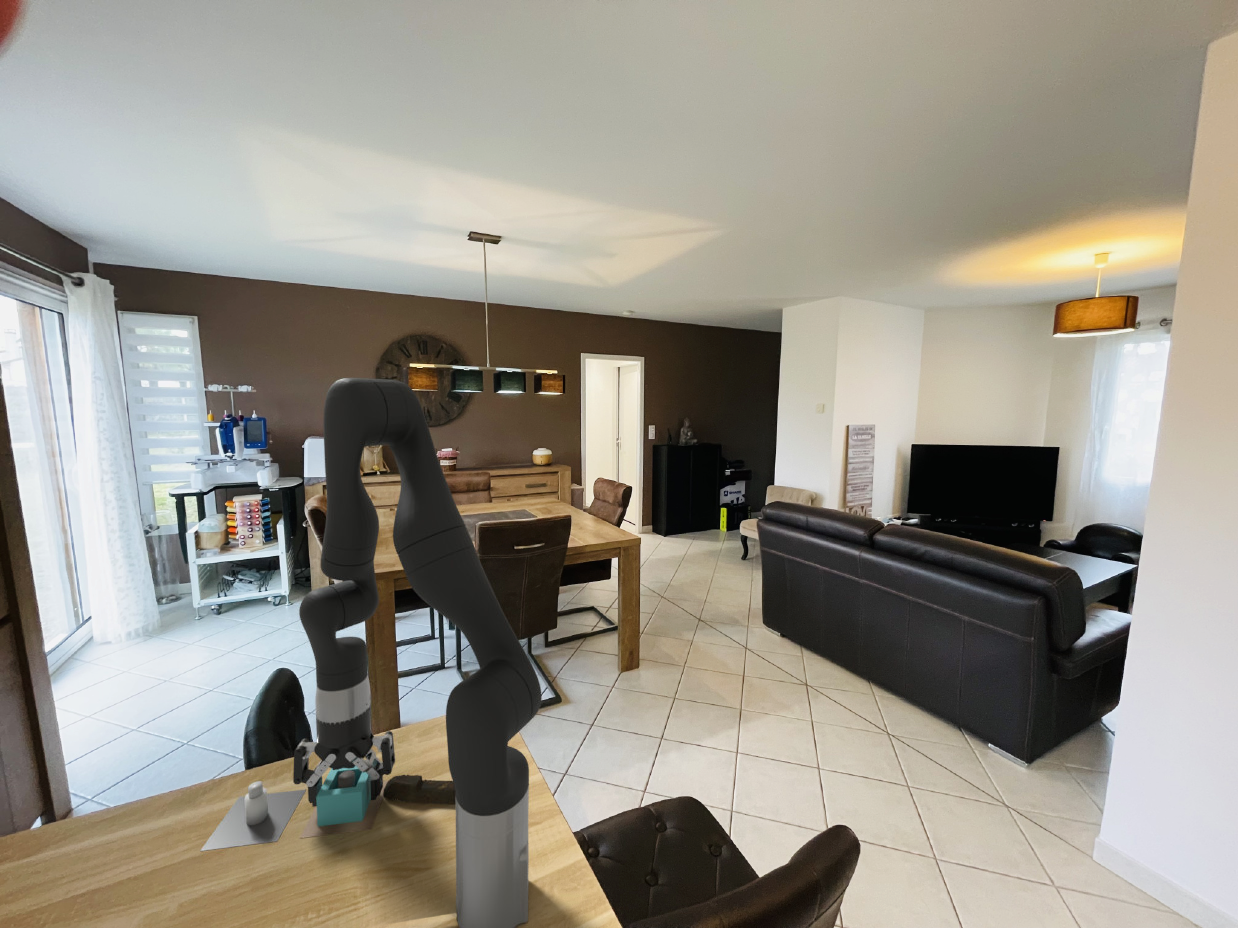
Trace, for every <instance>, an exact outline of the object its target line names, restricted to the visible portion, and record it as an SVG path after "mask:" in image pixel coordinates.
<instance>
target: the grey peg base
mask: <svg viewBox="0 0 1238 928" xmlns="http://www.w3.org/2000/svg"><path fill="white" fill-rule="evenodd" d="M247 789H248V793H246V794H245V796H244V795H243V796H239V797H238V798H237V799H236V801H235V802H234V803H233V805H232V806H231V807H230V809H229V810H228V812H227V813H226V815H225V816H224V817H223V819H222V820H221V822H220V823H219V824H218V826H217V827H216V828H215V830H214V831H213V832H212V834H211V835H210V836H209V838H208V839H207V841H206V842H205V843H204V845H203V846H202V848H201V849H200V850H199V851H200V852H204V851H206V852H207V851H212V850H220V849H229V848H237V847H244V846H252V845H259V844H265V843H266V844H268V843H275V842H276V843H277V842H278V840H279V839H280V837H281V835H282V834H283V832H284V830H285V828H286V826H287V825H288V823H289V821H290V820H291V818H292V816H293V814H294V813H295V811H296V809H297V807H298V805H299V804H300V801H302V798H303V796H305V793H306V791H307V789H297V790H289V791H281V792H280V791H279V792H271V793H268V789H267V788H266V787H264V785H263V781H260V780H259V781H258V780H257V781H255V782H252V783H251V784H250V785H248V788H247Z"/></svg>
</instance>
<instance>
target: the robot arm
mask: <svg viewBox="0 0 1238 928" xmlns="http://www.w3.org/2000/svg"><path fill="white" fill-rule="evenodd" d="M421 404H422V403H421V401H420V400H419V397H418V396H417V394H416V393H415V391H414V390H413V389H412V387H410V386H409V385H408V384H407V383H405V382H403V381H400V380H397V379H396V380H395V379H386V378H385V379H380V378H366V377H365V378H363V377H361V378H360V377H345V378H341V379H338V380H336V381H334V382H333V384H331V386H330V387H329V389H328V391H327V393H326V396H325V400H324V407H323V416H322V417H323V418H322V419H323V424H322V425H323V447H324V448H323V450H324V454H323V455H324V473H325V487H326V488H325V489H326V515H325V516H326V518H325V526H324V527H325V528H324V533H323V541H322V548H321V555H320V570H321V572H322V574H323V575H324V576H326V577H328V578H329V579H332V580H335V581H340V582H337V583H334V584H333V583H332V584H330V585H326V586H323V587H319V588H315V589H313V590H311V591H309V592H308V593H306V595H305V596H304V597H303V598H302V601H301V603H300V605H299V610H298V611H299V612H298V614H299V620H300V623H301V625H302V627H303V629H304V632H305V634H306V636H307V640H308V641H309V644H310V647H311V651H312V653H313V657H314V660H315V677H316V678H315V679H316V690H315V698H314V699H315V700H314V701H315V724H316V741H310V740H309V739H308V738H302V739H301V741H300V742H299V744H298V745H297V747H296V748H295V750H294V751H293V773H292V774H293V778H292V779H293V780H292V781H293V782H292V783H293V784H294V785H301V784H305V785H306V786H307V797H308V798H307V799H308V802H309V804H311V806H312V808H313V807H314V808H315V807H316V806H317V801H316V797H317V795H318V793H319V791H320V789H321V787H322V785H323V775H324V774H325V773H326V771H328V769H331V768H333V770H339V769H342V768H354V767H355V766H356V767H357V768H358V769H360V770H361V771H362V772H363V773H364V772H366V773H367V774H368V775H369V776H370V777H371V780H370V789H371V800H376V798H377V796H379V795H380V793H381V790H382V788H383V781H384V776H388V775H391V774H392V771H393V768H394V765H395V763H396V753H395V744H394V733H393V731H391V730H387V731H385V733H384V735H377V736H375V735H374V734H373V732H372V720H371V719H372V712H371V711H372V710H371V709H372V706H371V705H372V703H371V700H372V693H371V684H370V679H369V669H368V665H369V664H368V663H369V662H368V645H367V643H366V641H365V640H364V639H363V638H360V637H358V636H342V637H337V632H339V631H342V630H346V629H348V628H350V627H354V626H356V625H359V624H361V623H364V622H366V621H369V620H370V619H371V618H372V617H373V615H375V613H376V611H377V610H378V607H379V603H380V598H379V597H380V596H379V590H378V586H377V581H376V579H377V578H376V571H375V556H376V550H377V544H378V538H379V532H380V519H379V516H378V512H377V509H376V507H375V505H374V503H373V500H372V499H371V497H370V495H369V493H368V492H367V490H366V488H365V485H364V483H363V480H362V476H361V461H362V457H363V453H364V449H365V447H377V446H387V447H389V449H390V451H391V452H392V454H393V457H394V460H395V463H396V466H397V469H398V472H399V477H400V489H399V490H400V491H399V497H398V502H397V507H396V511H395V515H394V516H395V517H394V521H393V522H394V523H393V527H392V529H393V530H392V541H393V542H392V543H393V544H394V545H393V546H394V548H395V551H396V554H397V558H399V561H400V564H401V567H402V568H403V572H404V574H405V576H406V579H407V581H408V583H409V585H410V587H411V589H412V590H413V591H414V593H416V594H417V596H419V598H420V599H421V600H422V601H423V602H425V603H426V604H427V605H429V606H430V607H431V608H432V609H434V610H435V611H437V612H438V613H439V614H440V615H441V616H443V617H445V618H446V619H448V620H449V621H450V622H451V623H452V624H454V625H455V626H456V627H457V629H458V630H459V631H460V632H461V634H463V636H464V637H465V639H466V641H467V642H468V644H469V646H470V648H471V650H472V651H473V654H474V656H475V659H476V661H477V664H478V666H479V669H478V670H477V671H475V672H474V673H472V674H471V675H469V676H468V677H467V678H465V679H463V680H462V681H461V682H459V683H458V684H456V685H455V686H454V687H453V688H452V690H451V692H450V693H449V695H448V699H447V702H446V707H445V728H446V730H445V731H446V741H447V742H446V743H447V744H446V745H447V759H448V767H449V773H450V776H451V781H453V782H454V785H455V791H456V805H455V887H456V889H455V890H456V892H455V894H456V895H455V896H456V897H455V907H456V909H455V910H456V920H457V921H456V922H457V925H458V927H459V928H516V927H517V926H518V925H521V924H525V923H527V922H528V921H529V860H530V859H529V856H530V855H529V848H530V847H529V799H530V798H529V796H530V795H529V793H530V791H529V790H530V767H529V763H528V760H527V758H526V756H525V754H524V753H522V752H521V751H520V750H518V749H517V748H515V747H514V746H513V747H512V746H509V742H510V741H511V740H512V739H513V738H514V737H515V736H516V735H517V734H518V733H519V732H520V731H521V730H523V728H524V727H525V726H527V725H528V724H529V723H530V722H531V720H532V719H534V717H536V715H537V713H538V712H539V711H540V708H541V704H542V699H543V697H542V696H543V695H542V687H541V683H540V681H539V678H538V675H537V673H536V670H535V668H534V666H533V665H532V662H531V659H530V658H529V657H528V655H527V653H526V651H525V649H524V647H523V645H522V644H521V641H520V640H519V639H518V637H517V635H516V633H515V632H514V629H513V628H512V626H511V625H510V622H509V620H508V619H507V617H506V615H505V613H504V611H503V609H502V606H501V605H500V602H499V601H498V598H497V596H496V594H495V592H494V588H492V585H491V583H490V581H489V579H488V577H487V575H486V572H485V570H484V568H483V566H482V563H481V560H480V556H479V554H478V552H477V549H476V547H475V544H474V542H473V540H472V537H471V535H470V532H469V530H468V528H467V526H466V523H465V521H464V519H463V517H462V515H461V513H460V511H459V508H458V506H457V503H456V502H455V499H454V496H453V495H452V492H451V489H450V487H449V484H448V481H447V480H446V477H445V474H444V472H443V468H442V466H441V463H440V460H439V458H438V454H437V451H436V448H435V444H434V441H433V437H432V436H431V432H430V428H429V424H428V421H427V418H426V416H425V412H424V409H423V407H422V405H421ZM373 746H375V747H376V749H377V750H378V752H379V753H381V760H380V759H379V758H378V756H377V754H376V751H374V749H372V748H373ZM313 752H314V754H315V755H316V756H317V757H318V758H319V759H320V761H319V762H318V764H317V765H316V767H315V768H314V769H309V762H310V756H311V755H312V753H313ZM364 758H365V759H364Z"/></svg>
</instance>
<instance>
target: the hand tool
mask: <svg viewBox="0 0 1238 928" xmlns="http://www.w3.org/2000/svg"><path fill="white" fill-rule="evenodd" d="M388 780H389V781H388V782H387V784H386V786H385V788H384V791H383V798H385V799H386V800H390V801H391V800H392V801H397V802H402V803H403V802H404V803H406V804H407V803H408V804H409V803H413V804H414V803H415V804H433V805H436V804H437V805H455V806H456V791H455V785H454V782H453V780H435V779H434V780H432V779H426V778H425V779H423V776H422V775H418V774H414V775H412V774H401V775H395V776H392V778H390V779H388Z"/></svg>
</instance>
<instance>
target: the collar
mask: <svg viewBox="0 0 1238 928" xmlns="http://www.w3.org/2000/svg"><path fill="white" fill-rule="evenodd" d="M349 770H351V771H354V772H355V787H350V788H341V789H338V776H339V775H340V774H341V773H343V772H345V771H349ZM370 780H371V777H370V776H369V775H368V774H367V773H366V772H364V773H363V772H362V771H361V770H360V769H358V768H357V767H356V766H355V767H354V768H342V769H339V770H333V768H330V771H329V772H328V774H327V776H326V778H325V780H324V782H322V787H321V789H320V791H319V793H318V795H317V797H316V801H317V824H318V826H326V825H334V824H342V823H350V822H358V821H363V818H364V816H365V813H366V811H367V808H368V805H369V803H370V800H371V789H370Z"/></svg>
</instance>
